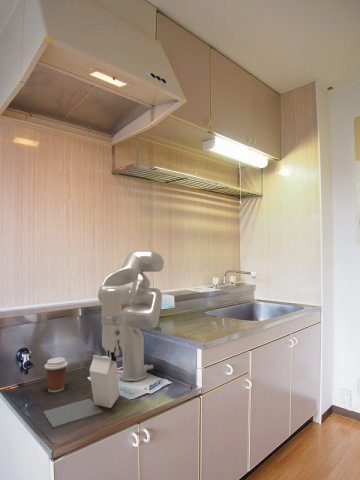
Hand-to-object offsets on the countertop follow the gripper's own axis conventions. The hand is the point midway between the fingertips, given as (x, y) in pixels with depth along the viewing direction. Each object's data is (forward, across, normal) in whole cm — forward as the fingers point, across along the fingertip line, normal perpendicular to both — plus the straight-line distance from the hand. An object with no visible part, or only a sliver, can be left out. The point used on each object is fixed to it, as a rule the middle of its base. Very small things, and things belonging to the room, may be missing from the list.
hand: (111, 368), depth 125 cm
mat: (+12, +1, +15) cm, 19 cm away
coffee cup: (+12, +26, +13) cm, 31 cm away
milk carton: (+11, 0, +2) cm, 11 cm away
